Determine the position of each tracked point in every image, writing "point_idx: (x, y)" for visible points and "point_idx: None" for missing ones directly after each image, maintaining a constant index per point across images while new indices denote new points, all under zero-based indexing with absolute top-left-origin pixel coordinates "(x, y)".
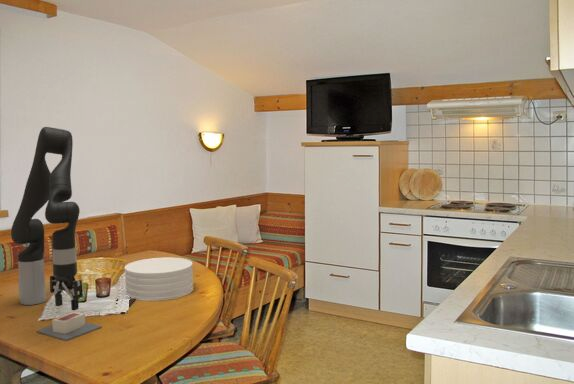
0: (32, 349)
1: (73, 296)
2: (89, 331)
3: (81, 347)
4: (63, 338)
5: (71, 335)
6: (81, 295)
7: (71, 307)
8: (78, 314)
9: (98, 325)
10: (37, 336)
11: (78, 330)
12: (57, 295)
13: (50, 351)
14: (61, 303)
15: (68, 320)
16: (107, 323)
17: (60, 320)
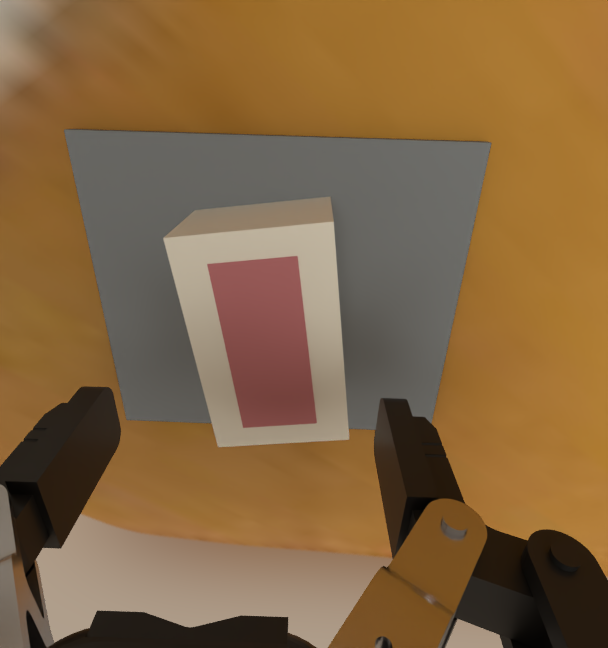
0: (353, 540)
1: (457, 615)
2: (462, 269)
3: (585, 445)
4: None
5: (408, 383)
6: (591, 587)
7: (379, 474)
8: (293, 269)
9: (448, 144)
10: (208, 447)
11: (377, 304)
12: (46, 535)
13: None
14: (103, 404)
15: (345, 404)
16: (461, 16)
17: (284, 428)
